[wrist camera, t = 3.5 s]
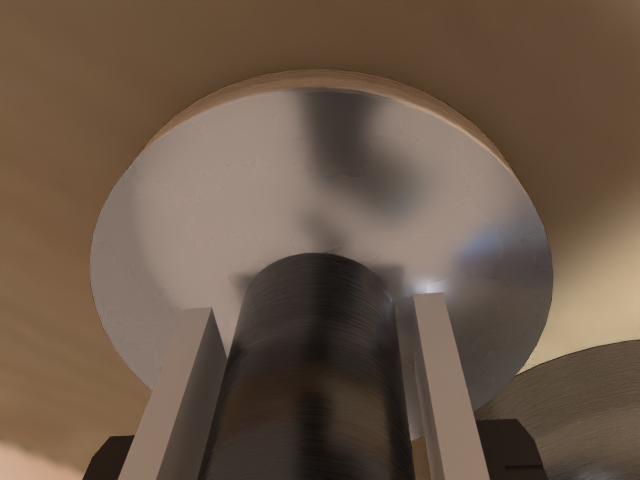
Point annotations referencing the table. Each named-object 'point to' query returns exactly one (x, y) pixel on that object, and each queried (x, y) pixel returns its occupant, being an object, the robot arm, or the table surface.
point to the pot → (579, 412)
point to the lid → (321, 265)
